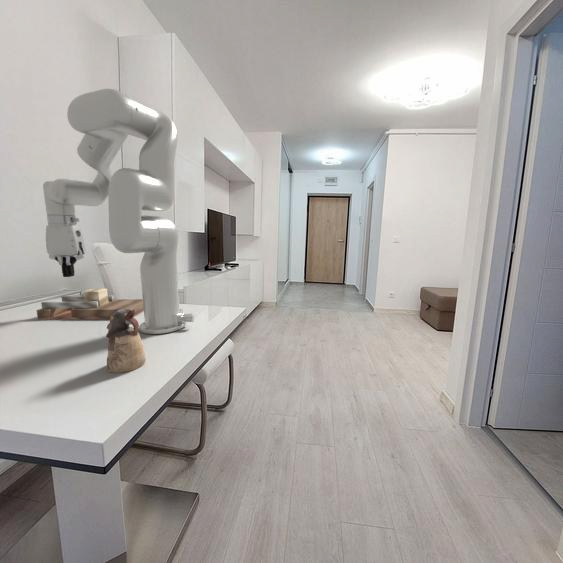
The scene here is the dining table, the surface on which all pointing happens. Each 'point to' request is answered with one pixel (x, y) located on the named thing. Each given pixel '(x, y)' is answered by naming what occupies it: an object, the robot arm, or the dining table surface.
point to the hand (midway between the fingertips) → (68, 276)
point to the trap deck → (87, 308)
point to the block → (96, 296)
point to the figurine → (124, 343)
